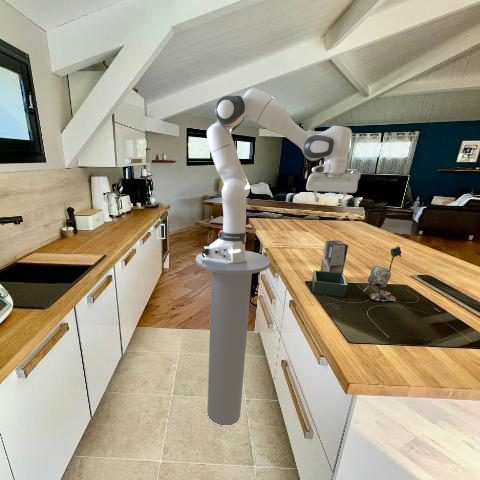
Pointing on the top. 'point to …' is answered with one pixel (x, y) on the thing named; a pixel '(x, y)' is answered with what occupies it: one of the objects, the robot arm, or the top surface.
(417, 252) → the top surface
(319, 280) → the open box frame
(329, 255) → the coffee box
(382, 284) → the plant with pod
